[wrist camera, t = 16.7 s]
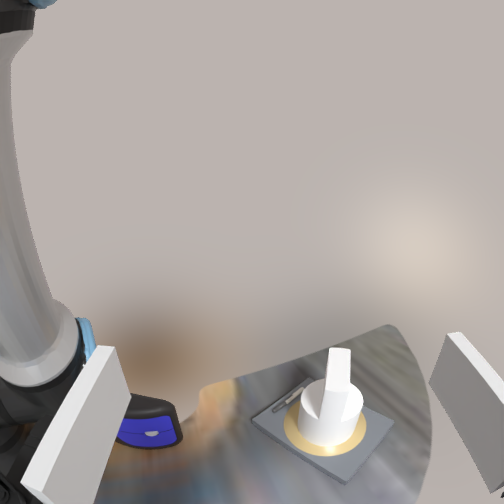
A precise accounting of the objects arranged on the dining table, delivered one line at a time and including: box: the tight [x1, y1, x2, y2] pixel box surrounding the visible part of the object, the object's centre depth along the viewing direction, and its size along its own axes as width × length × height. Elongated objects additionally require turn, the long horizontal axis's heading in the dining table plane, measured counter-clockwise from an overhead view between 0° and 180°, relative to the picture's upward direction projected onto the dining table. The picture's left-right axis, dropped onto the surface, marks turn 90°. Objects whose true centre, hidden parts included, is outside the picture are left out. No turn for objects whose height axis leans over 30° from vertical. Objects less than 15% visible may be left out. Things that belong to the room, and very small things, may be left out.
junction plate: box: [252, 377, 395, 485], centre depth 42 cm, size 18×14×2 cm
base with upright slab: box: [298, 348, 363, 447], centre depth 39 cm, size 9×9×12 cm
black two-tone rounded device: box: [115, 393, 183, 449], centre depth 38 cm, size 16×5×9 cm, turn 83°
